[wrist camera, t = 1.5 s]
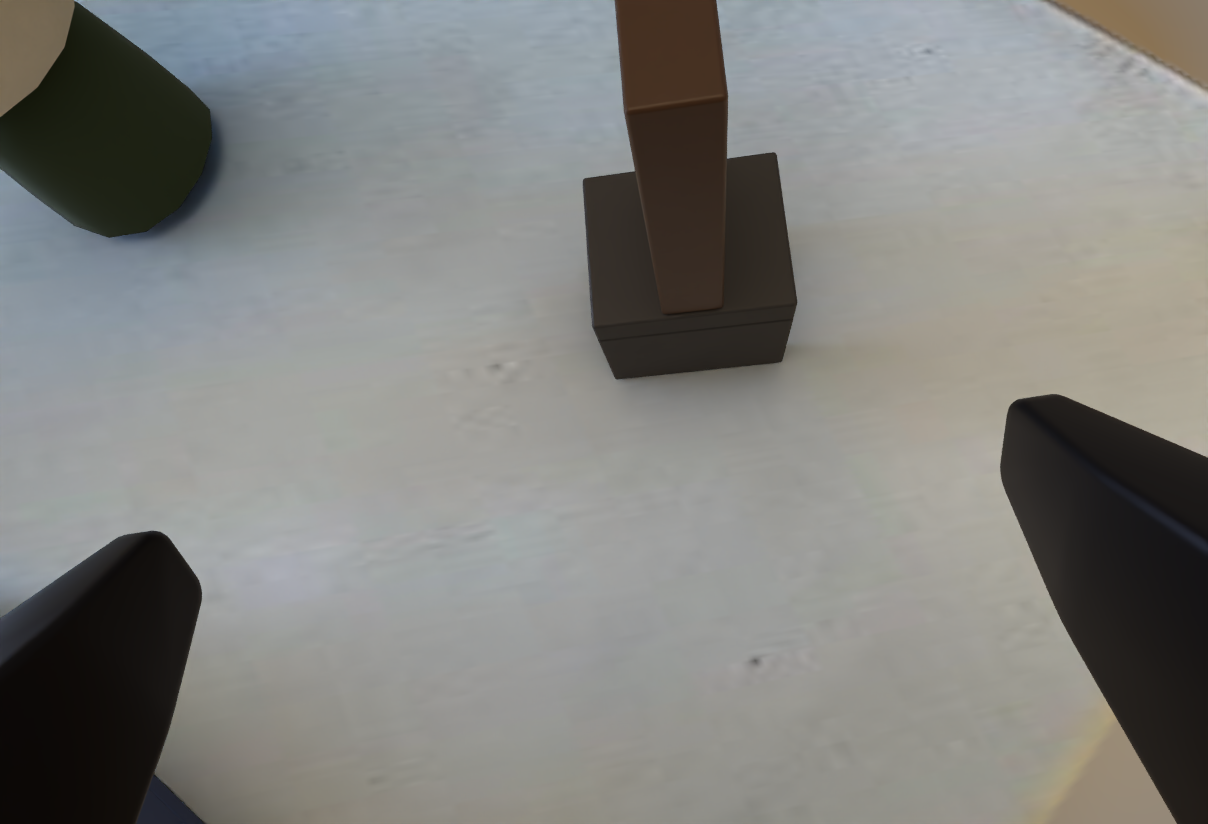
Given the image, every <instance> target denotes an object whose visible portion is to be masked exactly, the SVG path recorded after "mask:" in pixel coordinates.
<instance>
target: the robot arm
mask: <svg viewBox="0 0 1208 824" xmlns="http://www.w3.org/2000/svg"><path fill="white" fill-rule="evenodd" d="M1000 471H1001V479H1002V483H1003V486H1004V489H1005V492H1006V494H1007V496H1008V499H1009V501H1010V503H1011V506H1012V508H1013V510H1014V513H1015V515H1016V517H1017V520H1018V522H1019V524H1020V527H1021V529H1022V531H1023V534H1024V536H1025V538H1026V541H1027V543H1028V545H1029V548H1030V550H1031V552H1032V555H1033V557H1034V560H1035V562H1036V564H1037V567H1038V569H1039V571H1040V574H1041V576H1042V578H1043V581H1044V583H1045V585H1046V588H1047V590H1048V592H1049V595H1050V597H1051V599H1052V601H1053V604H1054V606H1055V608H1056V610H1057V612H1058V614H1059V617H1060V619H1061V621H1062V623H1063V625H1064V626H1065V628H1066V630H1067V632H1068V634H1069V636H1070V638H1071V639H1072V641H1073V643H1074V645H1075V647H1076V648H1077V650H1078V652H1079V654H1080V655H1081V657H1082V659H1083V661H1084V662H1085V664H1086V666H1087V668H1088V669H1089V671H1090V673H1091V675H1092V676H1093V678H1094V680H1095V682H1096V683H1097V685H1098V687H1099V688H1100V690H1101V692H1102V694H1103V695H1104V697H1105V699H1106V701H1107V702H1108V704H1109V706H1110V708H1111V709H1112V711H1113V713H1114V715H1115V716H1116V718H1117V720H1118V722H1119V723H1120V725H1121V727H1122V729H1123V730H1124V732H1125V734H1126V735H1127V737H1128V739H1129V741H1130V742H1131V744H1132V746H1133V748H1134V749H1135V751H1136V753H1137V755H1138V756H1139V758H1140V760H1141V762H1142V763H1143V765H1144V767H1145V768H1146V770H1147V772H1148V774H1149V776H1150V777H1151V779H1152V781H1153V782H1154V784H1155V786H1156V788H1157V790H1158V791H1159V793H1160V795H1161V796H1162V798H1163V800H1164V802H1165V803H1166V805H1167V807H1168V808H1169V810H1170V812H1171V814H1172V816H1173V817H1174V819H1175V821H1176V823H1177V824H1208V458H1207V457H1205V456H1203V455H1200V454H1198V453H1196V452H1193V451H1191V450H1189V449H1186V448H1184V447H1182V446H1179V445H1177V444H1175V443H1172V442H1170V441H1168V440H1165V439H1163V438H1161V437H1158V436H1156V435H1153V434H1151V433H1149V432H1146V431H1144V430H1142V429H1139V428H1137V427H1135V426H1132V425H1130V424H1128V423H1125V422H1123V421H1121V420H1118V419H1116V418H1114V417H1111V416H1109V415H1107V414H1104V413H1102V412H1100V411H1097V410H1095V409H1093V408H1090V407H1088V406H1086V405H1083V404H1081V403H1079V402H1076V401H1074V400H1072V399H1069V398H1067V397H1064V396H1061V395H1057V394H1049V395H1043V396H1036V397H1030V398H1023V399H1018V400H1016V401H1015V402H1013V403H1012V404H1011V405H1010V407H1009V409H1008V413H1007V418H1006V426H1005V433H1004V441H1003V448H1002V455H1001V464H1000ZM201 601H202V590H201V585H200V582H199V580H198V578H197V576H196V575H195V573H194V572H193V571H192V569H191V568H190V566H189V565H188V564H187V562H186V561H185V559H184V558H183V557H182V555H181V554H180V552H179V551H178V550H177V548H176V547H175V545H174V544H173V543H172V541H171V540H170V539H169V538H168V536H166V535H165V534H163V533H161V532H158V531H147V532H140V533H134V534H127V535H123V536H121V537H118V538H116V539H115V540H113V541H112V542H110V543H109V544H107V545H106V546H104V547H103V548H102V549H100V550H99V551H97V552H96V553H94V554H93V555H91V556H90V557H89V558H87V559H86V560H84V561H83V562H81V563H80V564H78V565H77V566H75V567H74V568H73V569H71V570H70V571H68V572H67V573H65V574H64V575H62V576H61V577H60V578H58V579H57V580H55V581H54V582H52V583H51V584H49V585H48V586H46V587H45V588H44V589H42V590H41V591H39V592H38V593H36V594H35V595H33V596H32V597H31V598H29V599H28V600H26V601H25V602H23V603H22V604H20V605H19V606H18V607H16V608H15V609H13V610H12V611H10V612H9V613H7V614H6V615H4V616H3V617H2V618H0V824H136V822H137V819H138V817H139V814H140V811H141V808H142V805H143V803H144V800H145V797H146V794H147V791H148V789H149V786H150V783H151V780H152V777H153V775H154V772H155V769H156V766H157V763H158V761H159V758H160V755H161V752H162V749H163V746H164V743H165V740H166V737H167V734H168V731H169V728H170V724H171V721H172V717H173V713H174V710H175V706H176V702H177V698H178V694H179V690H180V686H181V682H182V678H183V674H184V670H185V666H186V662H187V658H188V654H189V650H190V646H191V642H192V638H193V634H194V630H195V626H196V622H197V618H198V614H199V610H200V606H201Z"/></svg>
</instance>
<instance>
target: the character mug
mask: <svg viewBox="0 0 1208 824" xmlns="http://www.w3.org/2000/svg"><path fill="white" fill-rule="evenodd" d="M211 139H212V131H211V118H210V109H209V108H208V107H207V106H206V105H205V104H204V103H203V102H202V101H201V100H200V99H199V98H198V97H197V96H196V95H195V94H194V93H193V92H192V91H191V90H190V89H189V88H188V87H187V86H186V85H185V84H183V83H182V82H181V81H180V80H179V79H177V78H176V77H175V76H174V75H172V74H171V73H170V72H169V71H168V70H166V69H165V68H164V67H163V66H162V65H160V64H159V63H158V62H157V61H155V60H154V59H153V58H152V57H151V56H149V55H148V54H147V53H146V52H144V51H143V50H141V49H140V48H139V47H137V46H136V45H135V44H133V43H132V42H131V41H129V40H128V39H127V38H125V37H124V36H122V35H121V34H120V33H118V32H117V31H116V30H114V29H113V28H112V27H110V26H109V25H108V24H106V23H105V22H103V21H102V20H101V19H99V18H98V17H97V16H95V15H94V14H93V13H91V12H90V11H89V10H87V9H86V8H84V7H83V6H82V5H80V4H79V3H78V2H75V1H74V0H0V169H2V170H3V171H4V172H5V173H6V174H8V175H9V176H10V177H11V178H13V179H14V180H15V181H16V182H18V183H19V184H20V185H21V186H22V187H24V188H25V189H26V190H27V191H29V192H30V193H31V194H32V195H34V196H35V197H36V198H38V199H39V200H40V201H42V202H43V203H44V204H46V205H47V206H48V207H50V208H51V209H53V210H54V211H55V212H57V213H58V214H59V215H61V216H62V217H63V218H65V219H66V220H68V221H69V222H70V223H72V224H73V225H74V226H77V227H80V228H83V229H86V230H88V231H91V232H94V233H97V234H100V235H103V236H106V237H109V238H110V237H116V236H122V235H128V234H134V233H140V232H146V231H148V230H149V229H150V228H152V227H153V226H155V225H156V224H157V223H159V222H160V221H162V220H163V219H164V218H166V217H167V216H169V215H170V214H171V213H173V212H174V211H176V210H177V209H178V208H179V207H180V206H181V204H182V203H183V201H184V200H185V198H186V197H187V195H188V194H189V192H190V191H191V189H192V188H193V186H194V185H195V183H196V182H197V180H198V179H199V177H200V176H201V174H202V171H203V168H204V164H205V161H206V157H207V154H208V150H209V146H210V143H211Z"/></svg>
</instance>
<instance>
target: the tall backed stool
mask: <svg viewBox="0 0 1208 824" xmlns="http://www.w3.org/2000/svg"><path fill="white" fill-rule="evenodd" d="M615 8H616V20H617V32H618V44H619V56H620V68H621V80H622V92H623V104H624V114H625V119H626V124H627V130H628V135H629V140H630V146H631V151H632V156H633V162H634V167H635V172H628V173H620V174H613V175H606V176H599V177H591V178H585V179H584V180H583V194H584V209H585V225H586V240H587V255H588V270H589V286H590V301H591V316H592V327H593V329H594V331H595V334H596V336H597V338H598V341H599V343H600V345H601V347H602V350H603V352H604V354H605V356H606V359H607V361H608V363H609V365H610V368H611V370H612V372H613V374H614V377H615V379H624V378H633V377H643V376H652V375H662V374H671V373H681V372H690V371H700V370H709V369H719V368H728V367H738V366H747V365H757V364H766V363H776V362H781V361H782V359H783V356H784V352H785V348H786V344H787V341H788V337H789V333H790V329H791V325H792V322H793V317H794V313H795V310H796V306H797V297H796V290H795V282H794V275H793V268H792V261H791V254H790V247H789V240H788V233H787V225H786V218H785V211H784V204H783V197H782V190H781V183H780V175H779V168H778V161H777V155H776V153H774V152H772V153H765V154H758V155H751V156H743V157H736V158H729V159H727V125H728V91H727V83H726V75H725V67H724V59H723V51H722V43H721V35H720V27H719V19H718V11H717V3H716V0H615Z"/></svg>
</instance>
